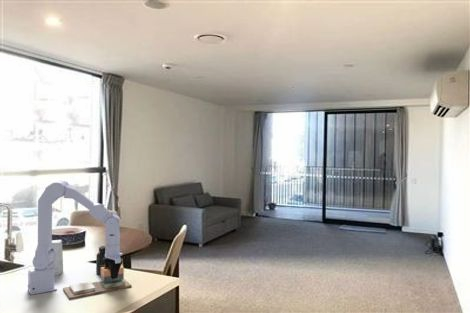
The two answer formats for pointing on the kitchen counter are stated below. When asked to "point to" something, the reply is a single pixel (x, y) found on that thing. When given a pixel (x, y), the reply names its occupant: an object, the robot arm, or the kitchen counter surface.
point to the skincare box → (58, 257)
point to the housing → (107, 274)
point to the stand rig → (94, 288)
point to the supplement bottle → (100, 260)
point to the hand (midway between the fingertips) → (112, 276)
